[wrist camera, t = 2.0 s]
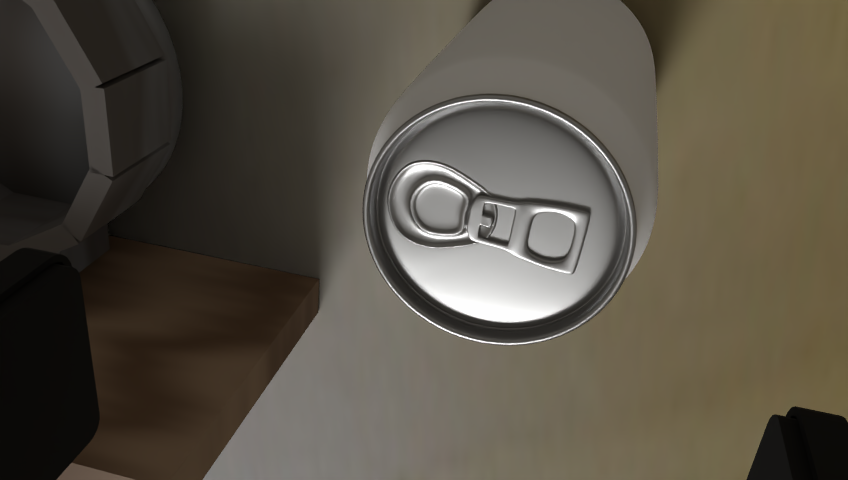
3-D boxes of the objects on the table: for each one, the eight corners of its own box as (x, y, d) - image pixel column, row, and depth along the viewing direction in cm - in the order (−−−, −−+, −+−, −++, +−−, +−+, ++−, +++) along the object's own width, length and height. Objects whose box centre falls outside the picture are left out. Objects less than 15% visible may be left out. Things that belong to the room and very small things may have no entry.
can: (477, -44, 26) (360, 39, 15) (681, -4, 25) (705, 114, 14) (445, 143, 29) (328, 319, 18) (625, 185, 28) (611, 396, 17)
